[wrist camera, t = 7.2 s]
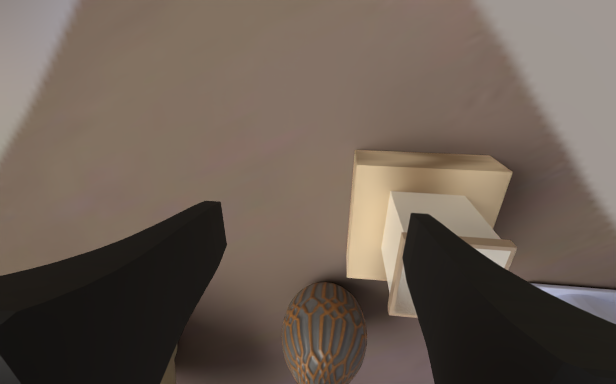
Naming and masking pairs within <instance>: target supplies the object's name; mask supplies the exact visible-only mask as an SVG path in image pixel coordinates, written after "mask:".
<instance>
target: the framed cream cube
mask: <svg viewBox="0 0 616 384" xmlns="http://www.w3.org/2000/svg"><path fill="white" fill-rule="evenodd" d="M411 213H423V214H429V215H431V216H432V217H434V218H435V219H436V220H438V221H439V222H440V223H442V224H443V225H444V226H446V227H447V228H448V229H449V230H451V231H452V232H453V233H455V234H456V235H457V236H459V237H460V238H461V239H462V240H464V241H465V242H466V243H468V244H469V245H471V246H472V247H473V248H475V249H476V250H478V251H479V252H480V253H482V254H483V255H485V256H486V257H488V258H489V259H491V260H492V261H494V262H495V263H497V264H498V265H500V266H501V267H503V268H505V269H506V270H508V269H509V267H510V265H511V262H512V260H513V257H514V255H515V252H516V250H517V247H516V246H515V245H514V244H513V242H512V241H511V240H504V239H501V238H500V237H499V236H498V235H497V234H496V232H495V231H494V230H493V229H492V228H491V226H490V225H489V224H488V223H487V222H486V220H485V219H484V218H483V217H482V216H481V214H480V213H479V212H478V211H477V210H476V208H475V207H474V206H473V205H472V204H471V202H470V201H469V200H468V199H467V198H466V196H462V195H446V194H429V193H413V192H396V191H390V197H389V203H388V209H387V216H386V222H385V228H384V235H383V241H382V247H381V250H382V255H383V261H384V266H385V271H386V277H387V282H388V287H389V292H390V296H389V301H388V312H389V315H393V316H403V317H413V318H418V317H417V314H416V311H415V307H414V304H413V301H412V298H411V295H410V292H409V288H408V285H407V282H406V277H405V271H404V265H403V259H402V256H403V251H404V246H405V241H406V236H407V231H408V225H409V220H410V215H411Z"/></svg>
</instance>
